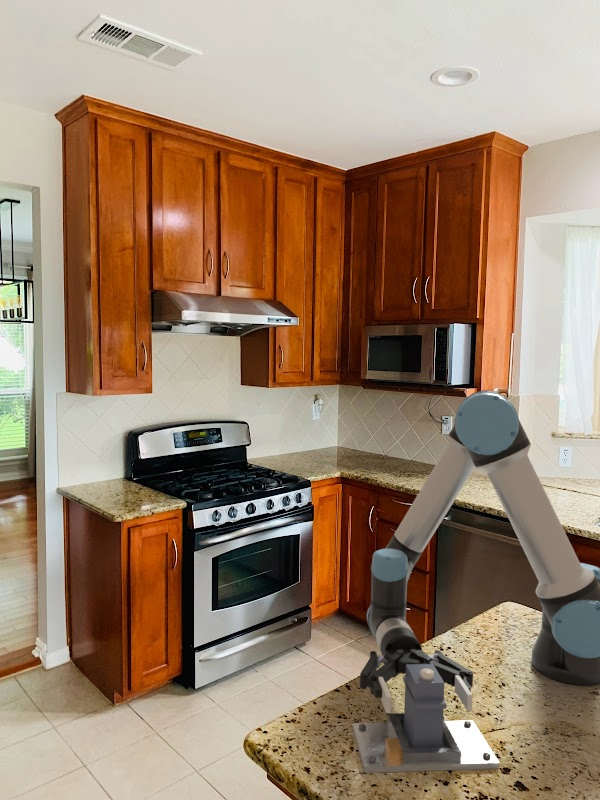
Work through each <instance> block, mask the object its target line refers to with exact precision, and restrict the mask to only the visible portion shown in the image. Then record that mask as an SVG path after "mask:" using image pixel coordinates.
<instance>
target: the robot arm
mask: <svg viewBox="0 0 600 800" xmlns="http://www.w3.org/2000/svg"><path fill="white" fill-rule="evenodd" d="M454 416H455V417H454V424H453V427H452V428H451V430H450V432H449V433H448V435H447V436H448V437H447V438H448V441H449V442H448V444H447V446H445V449H444V450H443V452H442V454H441V456H440V457H439V458H438V460H437V462H436V463H435V465H434V467H433V468H432V471H431V472H430V474H429V475H428V477H427V479H426V480H425V482H424V483H423V485H422V487H421V489H420V491H419V492H418V493H417V495H416V497H415V499H414V500H413V502H412V503H411V505H410V507H409V509H408V510H407V512H406V514H405V515H404V517H403V519H402V521H401V522H400V524H399V525H398V527H397V529H396V530H395V532H394V533H393V536H391V538H390V541H389V542H388V544H386V546H385V548H380V549H378V550H376V551H374V552H373V554H372V561H371V566H370V570H371V584H370V585H371V589H370V591H371V594H370V605H369V607H368V609H367V611H366V620H367V626H368V628H369V631H370V632H371V633H372V636H373V638H374V640H375V642H376V644H377V647H378V649H379V650H380V653H381V655H380V654H377V651H375V650H371V651H370V652H369V659H368V661H366V664H365V665H364V667H363V669H362V670H361V671H360V673H359V688H360V689H361V690H366V689H367V688H370V695H372V696H374V697H375V699H380V700H381V703H382V706H383V709H384V712H385V714H391V712H392V695H391V693H390V691H389V689H388V686H387V684H386V683H387V682H389V681H390V680H391V679H392V678H393V679H395V678H396V677H397V676H398V675H400V674H402V675H404V674H405V675H406V664H433V665H434V666H435V668H436V670H437V671H438V673H439V675H440V676H441V678H442V680H443V681H444V684H447V685H450V686H452V687H454V692H455V693H456V695H457V697H458V699H459V700H460V701H461V703H462V704H463V707H464V708H465V709H466V711H468V712H472V711H473V694H472V692H471V691H472V690H471V689H472V687H473V686H474V685H473V684H474V682H473V680H474V671H472V670H471V669H468V668H467V667H465V666H464V665H461V664H460V663H458V662H456V661H454V660H453V659H451V658H449V657H448V656H446V655H445V654H444V653H443V652H442V651H441V650H439V649H436V650H434V654H428V653H427V652H424V650H423V649H422V645H421V644H420V641H419V640H418V639H417V637H416V635H415V633H414V631H413V630H412V628H411V626H410V625H409V623H408V622H407V592H408V581H409V579H410V576H411V573H412V571H413V568H414V567H415V565H416V564H417V562H418V561H419V560H420V557H421V556H422V554H423V552H424V550H425V549H426V547H427V545H429V542H430V541H431V539H432V537H433V536H434V534H435V533H436V531H437V529H438V528H439V526H440V524H441V523H442V521H443V520H444V518H445V517H446V515H447V514H448V512H449V510H450V509H451V508H452V505H453V504H454V502H455V501H456V499H457V497H458V496H459V494H460V493H461V491H462V490H463V488H464V486H465V484H466V483H467V481H468V480H469V478H470V476H471V475H472V473H473V471H475V469H476V470H477V469H478V470H480V471H482V472H485V473H486V474H487V476H488V479H489V480H490V483H491V486H492V487H493V489H494V491H495V493H496V495H497V497H498V500H499V501H500V503H501V506H502V508H503V510H504V512H505V514H506V516H507V518H508V520H509V521H510V524H511V527H512V528H513V531H514V533H515V534H516V536H517V539H518V541H519V544H520V545H521V548H522V550H523V552H524V553H525V555H526V557H527V560H528V562H529V564H530V566H531V568H532V571H534V574H535V576H536V579H537V580H538V584H537V586H536V589H535V594H536V596H537V599H538V600H539V602H540V605H541V607H542V611H541V612H542V613H541V627H540V628H541V629H540V631H539V634H538V636H537V638H536V641H535V643H534V645H533V648H532V651H531V665H532V666H533V667H534V668H535V670H537V671H538V672H539V673H540V674H542V675H544V676H546V677H548V678H550V679H552V680H555V681H558V682H561V683H565V684H570V685H577V686H593V685H600V567H598V566H595V565H591V564H588V563H583V562H580V560H579V557H578V555H577V554H576V552H575V549H574V548H573V546H572V544H571V542H570V540H569V537H568V536H567V534H566V531H565V530H564V527H563V525H562V524H561V521H560V519H559V517H558V514H557V513H556V511H555V509H554V506H553V505H552V502H551V500H550V499H549V496H548V494H547V493H546V490H545V488H544V486H543V485H542V482H541V480H540V478H539V476H538V473H537V472H536V470H535V468H534V466H533V463H532V461H531V460H530V459H531V458H529V456H528V454H529V451H530V448H531V446H532V444H531V441H530V439H529V438H528V435H527V433H526V431H525V429H524V427H523V425H522V423H521V421H520V419H519V414H518V412H517V409H516V408H515V406H514V404H513V403H512V402H511V401H510V400H509V399H508V398H507V397H505V396H504V395H503V394H501V393H499V392H497V391H493V390H489V389H488V390H486V389H483V390H479V391H476V392H475V391H474V392H473V393H471V394H470V395H469V396H467V397H466V398H465V399H464V400H463V401H462V402H461V403H460V404H459V406H458V407H457V409H456V413H455V415H454ZM382 664H383V665H382ZM381 665H382V666H381ZM380 666H381V667H380Z"/></svg>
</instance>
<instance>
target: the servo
mask: <svg viewBox="0 0 600 800" xmlns="http://www.w3.org/2000/svg"><path fill="white" fill-rule="evenodd" d="M402 676H403V677H402V678H403V679H402V680H403V683H404V710H403V711H404V712H403V713H404V733H405V735H406V738H407V740H408V743H409V745H410V747H411V749H418V748H442V736H443V720H444V710H447V705H448V704H447V702H446V700H445V682H444V681H443V680H442V678H441V676H440V675H439V673H438V671H437V670H436V668H435V666H434V665H433V664H406V674H405V675H402Z"/></svg>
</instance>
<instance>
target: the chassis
mask: <svg viewBox="0 0 600 800" xmlns="http://www.w3.org/2000/svg"><path fill="white" fill-rule="evenodd" d="M351 728H352V733H353V736H354V740H355V742H356V743H355V744H356V747H357V751H358V754H359V757H360V758H359V759H360V760H361V764H362V765H361V766H362V767H363V768H362V769H363V771H364V774H371V773H372V774H373V773H379V774H380V773H403V772H404V773H405V772H432V771H433V772H435V771H438V772H439V771H466V770H471V771H472V770H494V769H495V770H496V769H497V770H498V769H500V761H499V760H498V758H497V757H496V755H495V754H494V752H493V751H492V748H491V747H490V745H489V743H488V742H487V741H486V739H485V738H484V736H483V734H482V732H481V731H480V729H479V728H478V726H477V725H476V723H475V721H474V720H473V719H471V720H470V719H466V720H465V719H464V720H462V719H461V720H460V719H459V720H445V719H443V736H442V748H418V749H411V747H410V745H409V743H408V740H407V738H406V735H405V733H404V712H402V713H401V712H399V713H397V712H396V713H393V712H392V713H387V722H361V723H360V722H356V723H354V722H353V723H352V727H351Z"/></svg>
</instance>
